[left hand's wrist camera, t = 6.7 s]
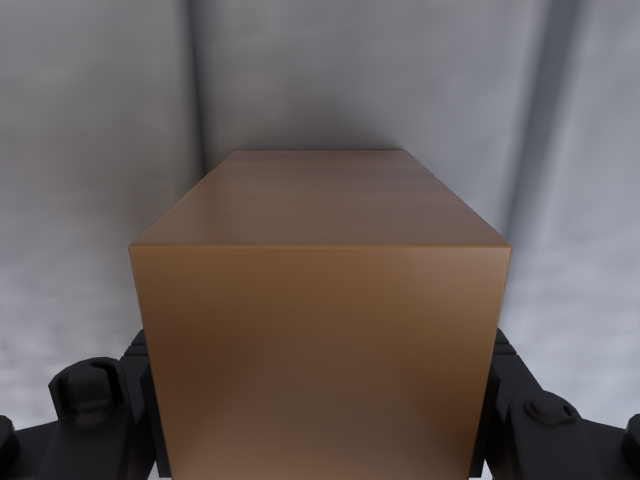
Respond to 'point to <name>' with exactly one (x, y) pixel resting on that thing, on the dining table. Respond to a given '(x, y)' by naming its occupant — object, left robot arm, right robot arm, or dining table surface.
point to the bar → (320, 319)
